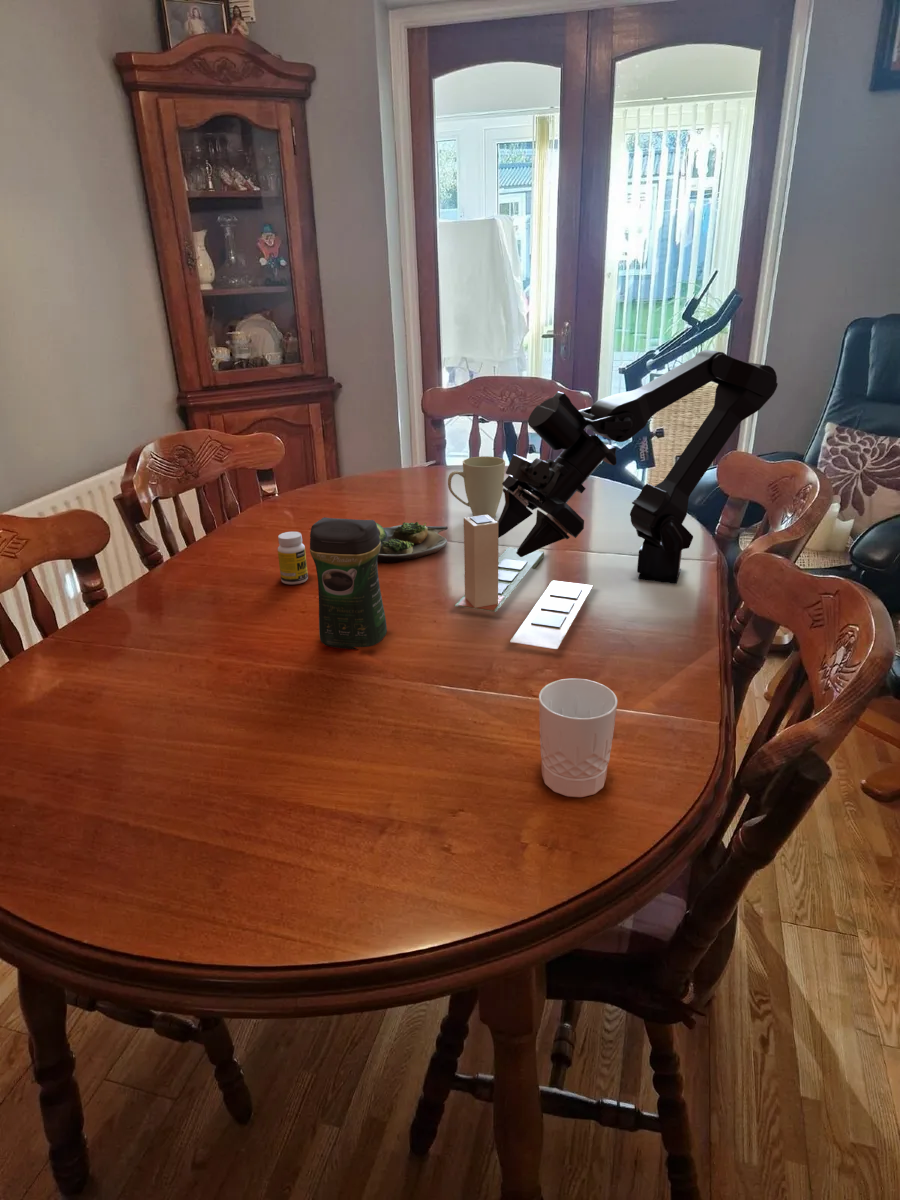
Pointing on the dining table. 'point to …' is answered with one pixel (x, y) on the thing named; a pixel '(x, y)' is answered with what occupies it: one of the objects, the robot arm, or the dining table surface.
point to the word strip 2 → (552, 615)
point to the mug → (482, 484)
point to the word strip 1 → (508, 575)
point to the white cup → (576, 735)
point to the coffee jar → (348, 582)
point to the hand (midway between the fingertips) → (506, 545)
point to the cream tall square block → (481, 560)
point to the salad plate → (409, 541)
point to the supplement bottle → (292, 558)
